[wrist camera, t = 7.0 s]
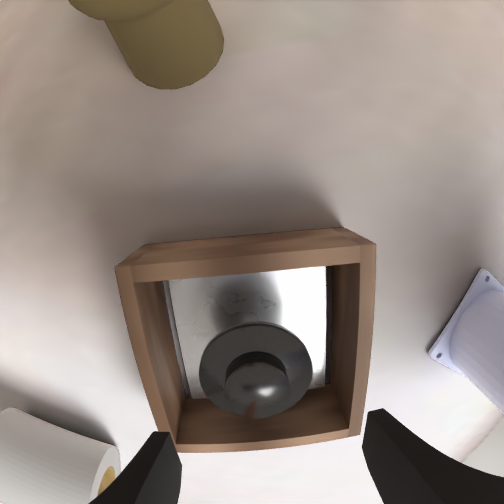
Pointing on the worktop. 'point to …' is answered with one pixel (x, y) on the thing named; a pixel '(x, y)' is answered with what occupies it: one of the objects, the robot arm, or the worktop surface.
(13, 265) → the worktop surface
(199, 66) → the brown tapered figure
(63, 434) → the toilet paper
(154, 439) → the robot arm
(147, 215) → the worktop surface
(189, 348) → the plunger
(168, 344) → the frame
